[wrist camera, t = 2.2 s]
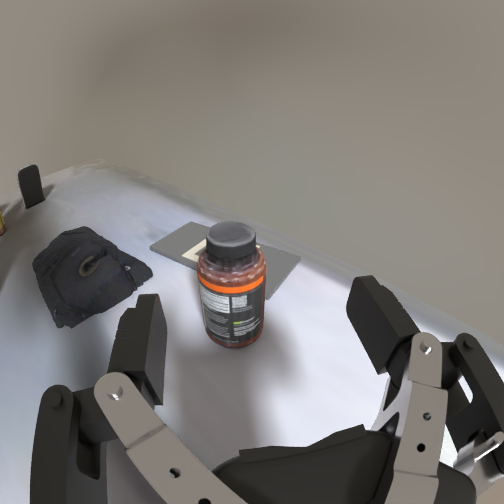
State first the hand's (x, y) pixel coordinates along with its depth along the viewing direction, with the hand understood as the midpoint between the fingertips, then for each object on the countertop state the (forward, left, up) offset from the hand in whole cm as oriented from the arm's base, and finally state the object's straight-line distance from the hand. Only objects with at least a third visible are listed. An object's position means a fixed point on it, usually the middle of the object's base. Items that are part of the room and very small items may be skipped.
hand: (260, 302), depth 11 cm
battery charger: (-77, +11, -14) cm, 79 cm away
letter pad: (-16, +19, -14) cm, 29 cm away
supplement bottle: (-7, +9, -14) cm, 18 cm away
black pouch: (-32, +4, -15) cm, 35 cm away
